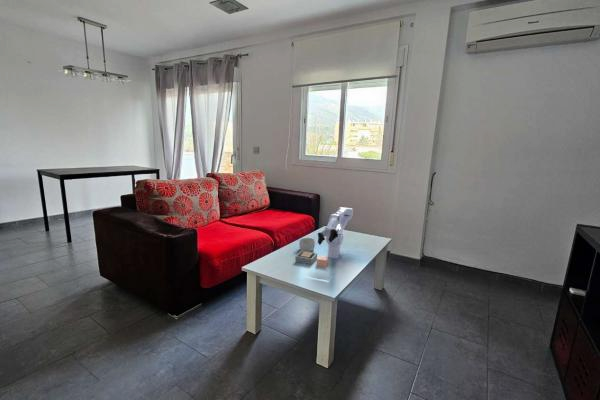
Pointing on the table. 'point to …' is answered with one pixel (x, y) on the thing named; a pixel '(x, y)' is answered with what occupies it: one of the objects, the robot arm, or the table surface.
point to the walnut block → (306, 255)
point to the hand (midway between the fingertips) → (324, 242)
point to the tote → (306, 260)
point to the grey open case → (307, 244)
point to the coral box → (322, 261)
